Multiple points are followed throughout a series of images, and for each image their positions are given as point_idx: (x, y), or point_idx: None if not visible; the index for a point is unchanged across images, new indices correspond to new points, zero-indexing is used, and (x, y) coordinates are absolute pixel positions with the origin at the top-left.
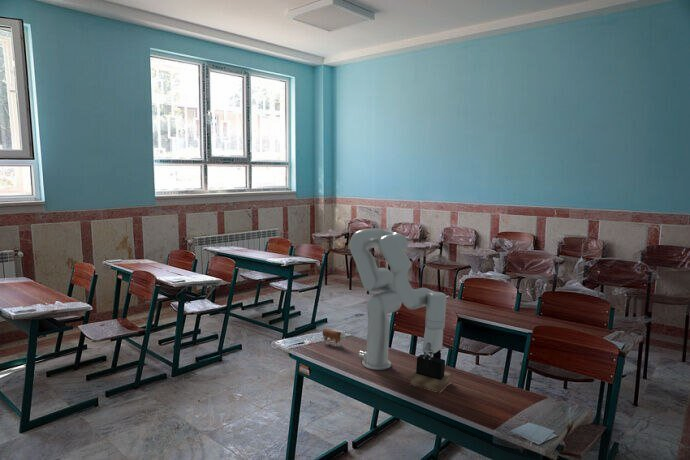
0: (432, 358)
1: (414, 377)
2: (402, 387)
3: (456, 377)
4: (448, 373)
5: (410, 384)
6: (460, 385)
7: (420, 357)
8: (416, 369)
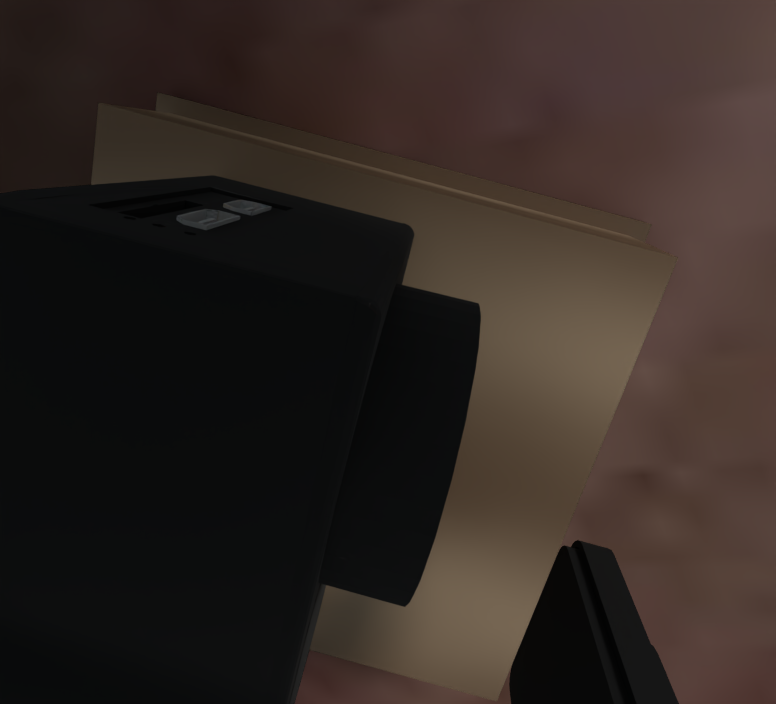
0: (144, 683)
1: (105, 167)
2: (32, 3)
3: (699, 654)
4: (479, 668)
5: (159, 108)
6: (460, 691)
7: (4, 327)
8: (180, 182)
